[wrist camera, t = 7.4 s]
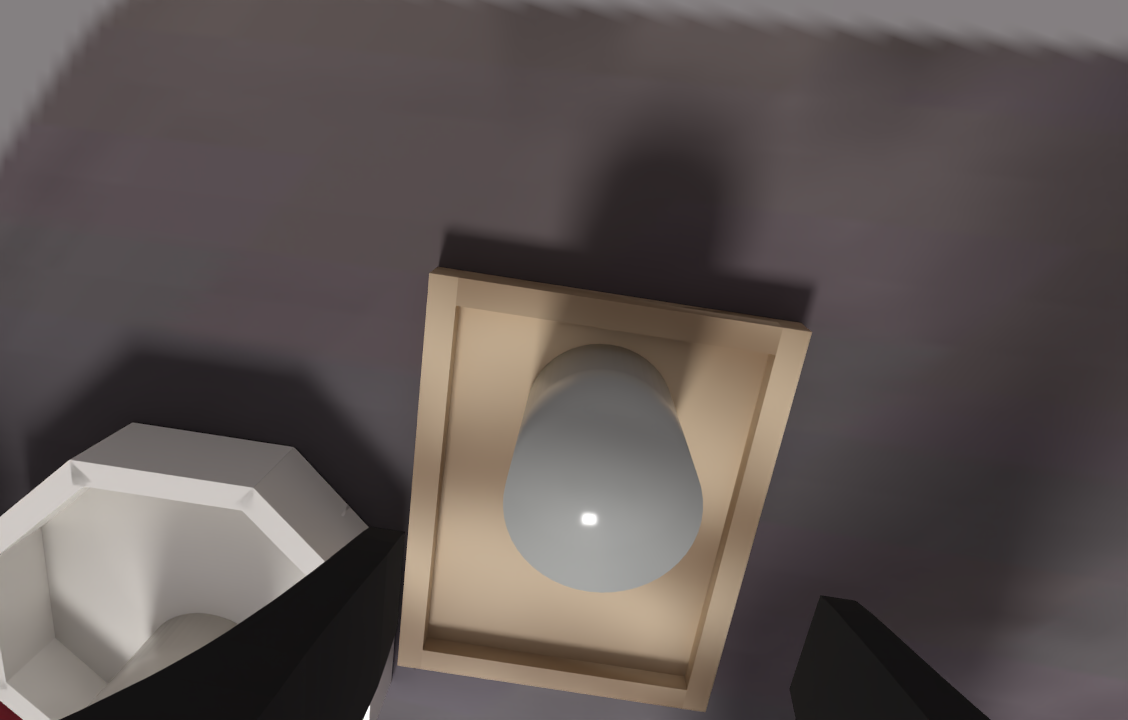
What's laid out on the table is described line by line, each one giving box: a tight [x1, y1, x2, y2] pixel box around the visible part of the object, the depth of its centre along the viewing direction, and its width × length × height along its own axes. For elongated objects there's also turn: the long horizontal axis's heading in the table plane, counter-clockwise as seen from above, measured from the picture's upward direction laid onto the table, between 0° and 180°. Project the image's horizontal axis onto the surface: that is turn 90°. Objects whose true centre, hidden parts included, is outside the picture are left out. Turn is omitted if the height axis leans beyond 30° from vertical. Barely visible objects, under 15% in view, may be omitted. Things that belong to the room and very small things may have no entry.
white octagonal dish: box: [0, 422, 395, 720], centre depth 21 cm, size 13×13×3 cm
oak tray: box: [397, 267, 812, 712], centre depth 20 cm, size 14×11×1 cm
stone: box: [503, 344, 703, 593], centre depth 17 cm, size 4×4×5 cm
